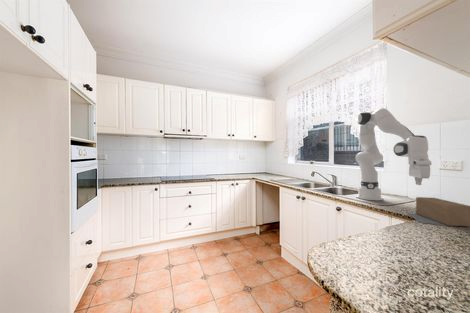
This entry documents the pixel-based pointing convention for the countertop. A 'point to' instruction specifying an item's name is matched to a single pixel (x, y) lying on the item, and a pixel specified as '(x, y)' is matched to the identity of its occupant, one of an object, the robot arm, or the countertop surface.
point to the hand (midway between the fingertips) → (418, 184)
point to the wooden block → (443, 211)
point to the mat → (425, 220)
